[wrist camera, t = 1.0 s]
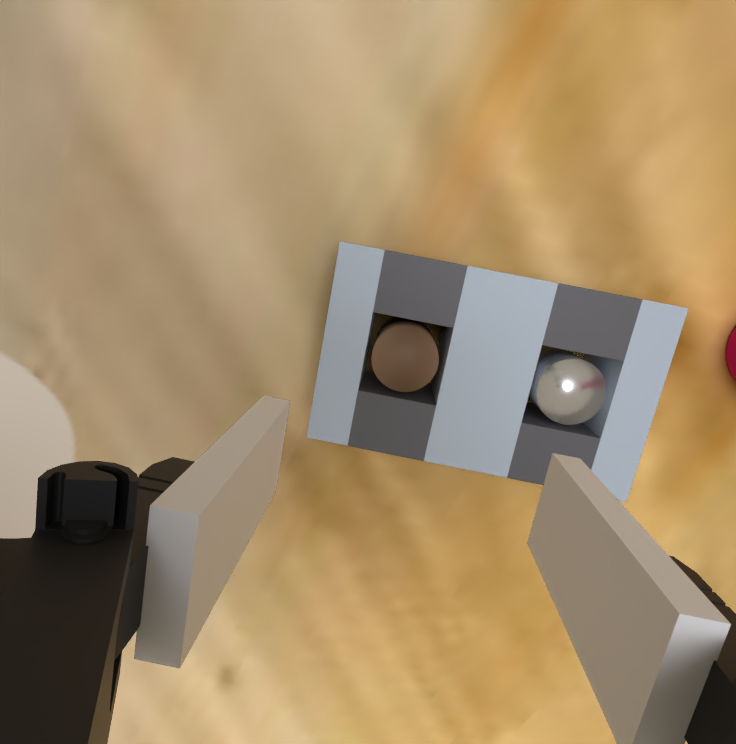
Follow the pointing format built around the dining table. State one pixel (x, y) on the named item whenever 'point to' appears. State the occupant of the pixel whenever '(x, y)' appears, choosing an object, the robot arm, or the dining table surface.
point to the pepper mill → (732, 353)
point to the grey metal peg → (567, 386)
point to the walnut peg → (405, 355)
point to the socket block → (489, 367)
